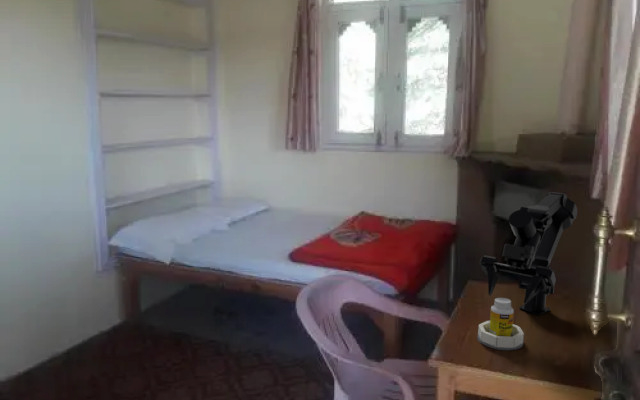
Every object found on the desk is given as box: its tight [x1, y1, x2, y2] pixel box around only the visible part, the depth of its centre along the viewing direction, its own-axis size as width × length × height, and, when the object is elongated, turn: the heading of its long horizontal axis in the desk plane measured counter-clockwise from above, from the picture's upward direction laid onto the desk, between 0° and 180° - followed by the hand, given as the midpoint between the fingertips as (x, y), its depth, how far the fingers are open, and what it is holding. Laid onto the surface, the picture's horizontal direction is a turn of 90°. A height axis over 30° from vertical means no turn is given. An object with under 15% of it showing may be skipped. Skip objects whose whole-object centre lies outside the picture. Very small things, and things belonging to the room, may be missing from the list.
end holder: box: [477, 320, 525, 352], centre depth 137 cm, size 11×11×3 cm
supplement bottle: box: [489, 297, 515, 337], centre depth 136 cm, size 6×6×10 cm
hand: (506, 298), depth 137 cm, fingers open, 9 cm apart
